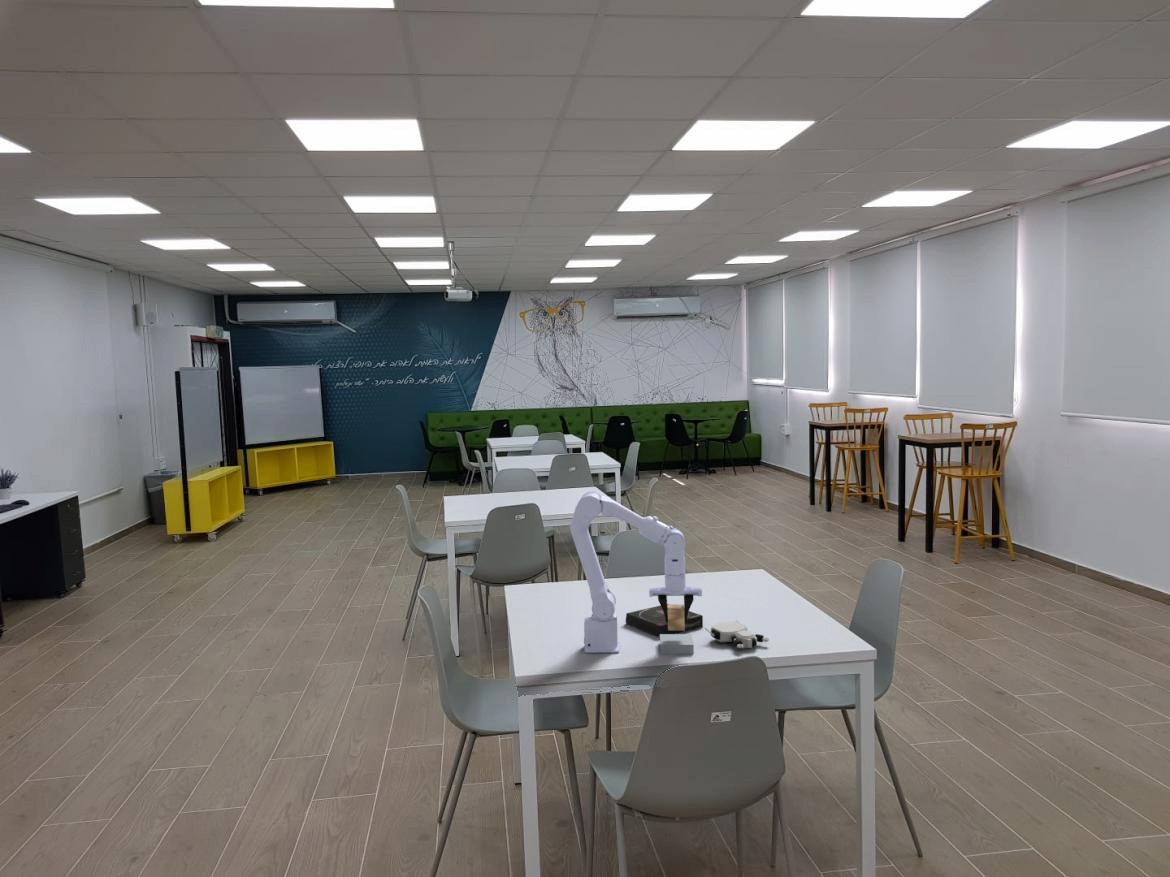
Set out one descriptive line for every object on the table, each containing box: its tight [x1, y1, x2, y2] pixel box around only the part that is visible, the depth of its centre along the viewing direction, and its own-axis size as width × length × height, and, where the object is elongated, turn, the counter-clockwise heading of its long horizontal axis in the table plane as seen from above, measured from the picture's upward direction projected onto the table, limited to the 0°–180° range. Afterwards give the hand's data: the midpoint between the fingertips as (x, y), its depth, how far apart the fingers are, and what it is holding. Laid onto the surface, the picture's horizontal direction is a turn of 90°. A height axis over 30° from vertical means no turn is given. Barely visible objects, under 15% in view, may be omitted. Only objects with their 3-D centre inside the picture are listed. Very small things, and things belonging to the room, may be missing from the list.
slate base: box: [659, 633, 694, 655], centre depth 226 cm, size 9×9×3 cm
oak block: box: [667, 603, 685, 631], centre depth 225 cm, size 4×4×6 cm
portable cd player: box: [625, 603, 704, 639], centre depth 247 cm, size 16×17×4 cm
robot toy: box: [704, 619, 769, 650], centre depth 229 cm, size 12×4×15 cm
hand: (676, 621), depth 225 cm, fingers closed on oak block, 4 cm apart
